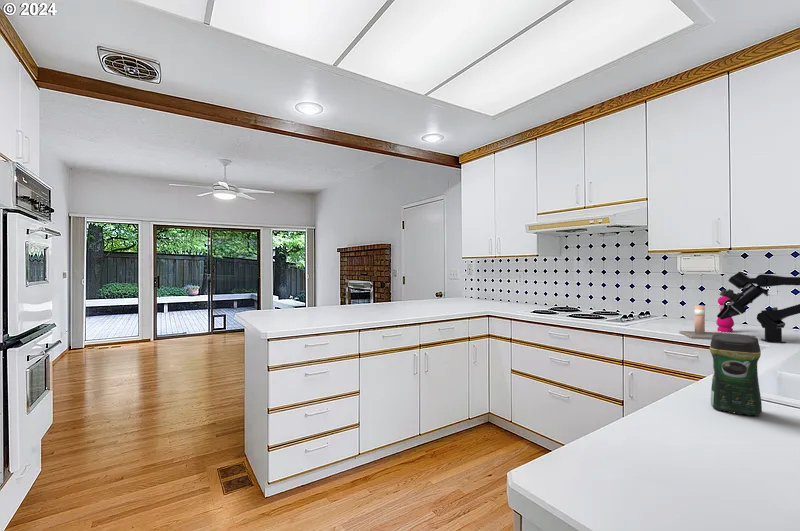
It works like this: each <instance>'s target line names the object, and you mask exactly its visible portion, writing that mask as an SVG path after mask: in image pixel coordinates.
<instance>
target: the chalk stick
mask: <svg viewBox="0 0 800 531" xmlns="http://www.w3.org/2000/svg"><path fill="white" fill-rule="evenodd" d="M705 308H706V305H703V304H701V305H700V304H695V305H694V331H695V334H705V332H706V331H705V329H706V328H705V322H706V321H705V320H706V319H705V316H706V311H705V310H706V309H705Z"/></svg>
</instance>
